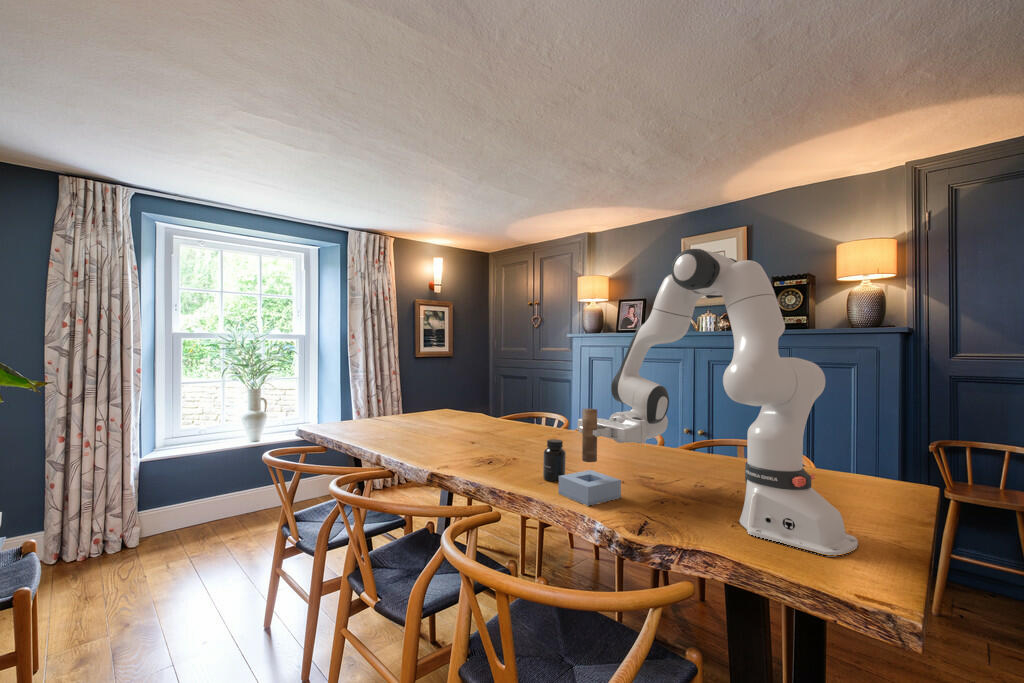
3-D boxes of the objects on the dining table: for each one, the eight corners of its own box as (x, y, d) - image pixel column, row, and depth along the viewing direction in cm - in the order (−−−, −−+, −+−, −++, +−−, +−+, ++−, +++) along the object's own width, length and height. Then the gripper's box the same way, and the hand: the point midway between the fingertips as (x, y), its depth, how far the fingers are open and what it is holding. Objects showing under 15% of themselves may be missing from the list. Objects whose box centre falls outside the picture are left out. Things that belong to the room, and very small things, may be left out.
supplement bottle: (541, 481, 140) (541, 442, 141) (545, 475, 147) (545, 437, 147) (563, 483, 139) (564, 443, 139) (566, 477, 145) (566, 438, 146)
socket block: (620, 498, 125) (620, 480, 125) (587, 506, 118) (588, 487, 118) (590, 487, 135) (590, 469, 135) (558, 493, 128) (558, 475, 129)
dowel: (600, 461, 126) (600, 410, 126) (589, 462, 124) (589, 411, 124) (590, 458, 130) (590, 408, 130) (579, 459, 128) (579, 409, 128)
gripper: (597, 411, 143) (563, 415, 135) (650, 421, 126) (614, 425, 118) (597, 432, 143) (563, 436, 135) (650, 444, 126) (614, 450, 118)
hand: (587, 431), depth 126 cm, fingers closed on dowel, 4 cm apart
